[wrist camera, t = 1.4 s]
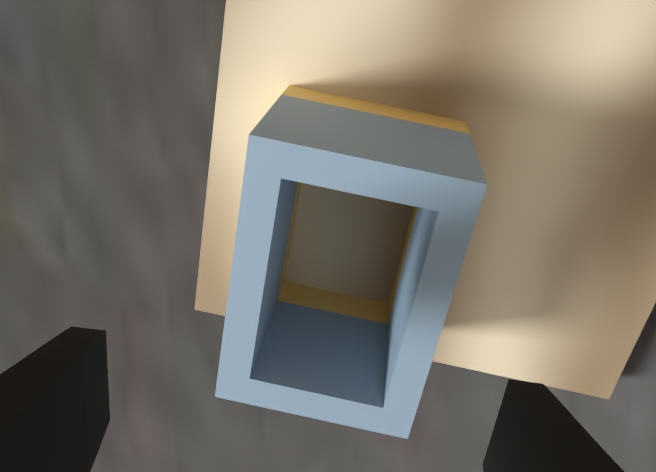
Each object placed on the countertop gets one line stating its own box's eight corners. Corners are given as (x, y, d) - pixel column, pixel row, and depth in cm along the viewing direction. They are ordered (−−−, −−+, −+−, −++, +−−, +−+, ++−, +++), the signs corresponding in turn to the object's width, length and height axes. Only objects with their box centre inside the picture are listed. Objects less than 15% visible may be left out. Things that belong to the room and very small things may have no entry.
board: (950, -381, 13) (1211, -536, 9) (598, 376, 22) (645, 481, 17) (291, -503, 13) (239, -708, 9) (204, 291, 22) (157, 374, 18)
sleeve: (466, 121, 17) (487, 184, 13) (407, 329, 20) (407, 438, 16) (289, 84, 17) (248, 134, 13) (256, 296, 20) (215, 396, 16)
